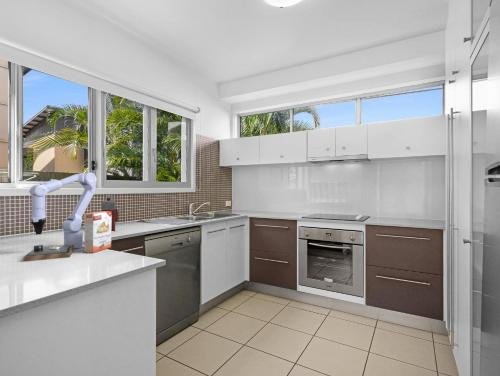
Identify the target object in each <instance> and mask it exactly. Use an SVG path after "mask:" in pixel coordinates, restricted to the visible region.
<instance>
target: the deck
mask: <svg viewBox="0 0 500 376" xmlns="http://www.w3.org/2000/svg"><path fill="white" fill-rule="evenodd" d="M70 247H71V245H64V244H63V245H62V244H61V245H50V246H44V244H38V245H34V246H33V249H32V250H33V251H32V250H30V251H29V252H30V253H29V252H28V253H29V256H33V255H43V254H54V253H64V252H67V251H68V250H69V248H70Z"/></svg>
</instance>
